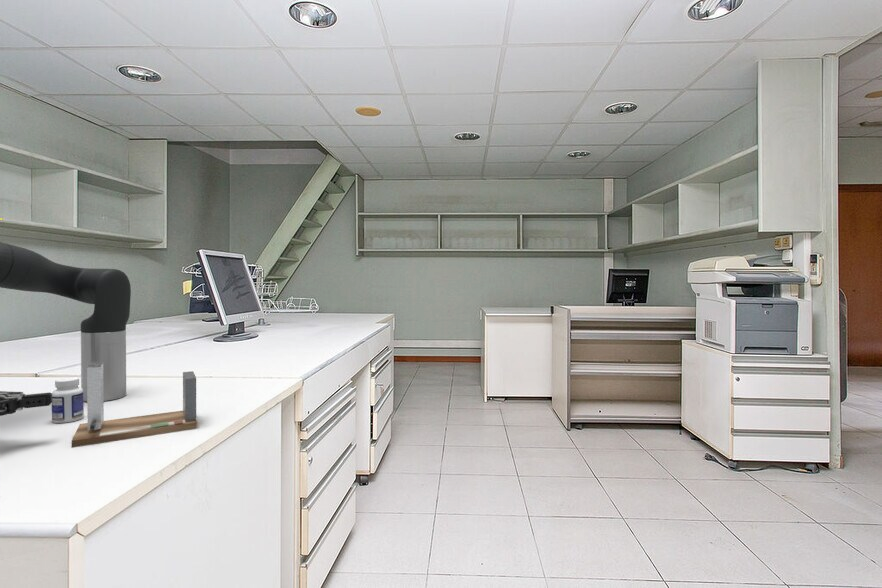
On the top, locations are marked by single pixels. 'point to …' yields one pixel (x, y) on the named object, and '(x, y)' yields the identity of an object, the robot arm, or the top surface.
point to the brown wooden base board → (132, 428)
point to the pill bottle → (67, 401)
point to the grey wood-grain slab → (189, 396)
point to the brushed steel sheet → (95, 396)
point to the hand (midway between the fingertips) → (51, 398)
